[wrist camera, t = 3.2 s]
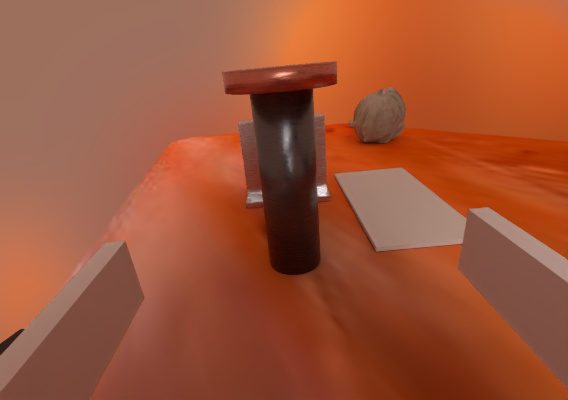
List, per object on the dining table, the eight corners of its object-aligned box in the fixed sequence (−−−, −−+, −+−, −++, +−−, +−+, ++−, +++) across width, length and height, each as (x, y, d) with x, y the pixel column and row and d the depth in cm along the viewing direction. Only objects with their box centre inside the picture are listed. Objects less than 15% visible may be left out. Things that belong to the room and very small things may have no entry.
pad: (401, 170, 41) (402, 167, 41) (488, 241, 25) (489, 236, 25) (334, 176, 41) (334, 173, 41) (376, 251, 25) (376, 247, 25)
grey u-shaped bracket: (323, 184, 39) (321, 111, 35) (330, 200, 34) (328, 118, 31) (249, 191, 39) (239, 118, 35) (246, 208, 34) (234, 126, 31)
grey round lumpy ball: (393, 149, 59) (413, 96, 56) (398, 154, 51) (422, 92, 48) (345, 135, 60) (362, 82, 57) (343, 138, 52) (363, 77, 49)
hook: (310, 173, 43) (304, 62, 37) (348, 283, 22) (348, 61, 16) (260, 178, 43) (246, 67, 37) (248, 292, 22) (212, 73, 16)
